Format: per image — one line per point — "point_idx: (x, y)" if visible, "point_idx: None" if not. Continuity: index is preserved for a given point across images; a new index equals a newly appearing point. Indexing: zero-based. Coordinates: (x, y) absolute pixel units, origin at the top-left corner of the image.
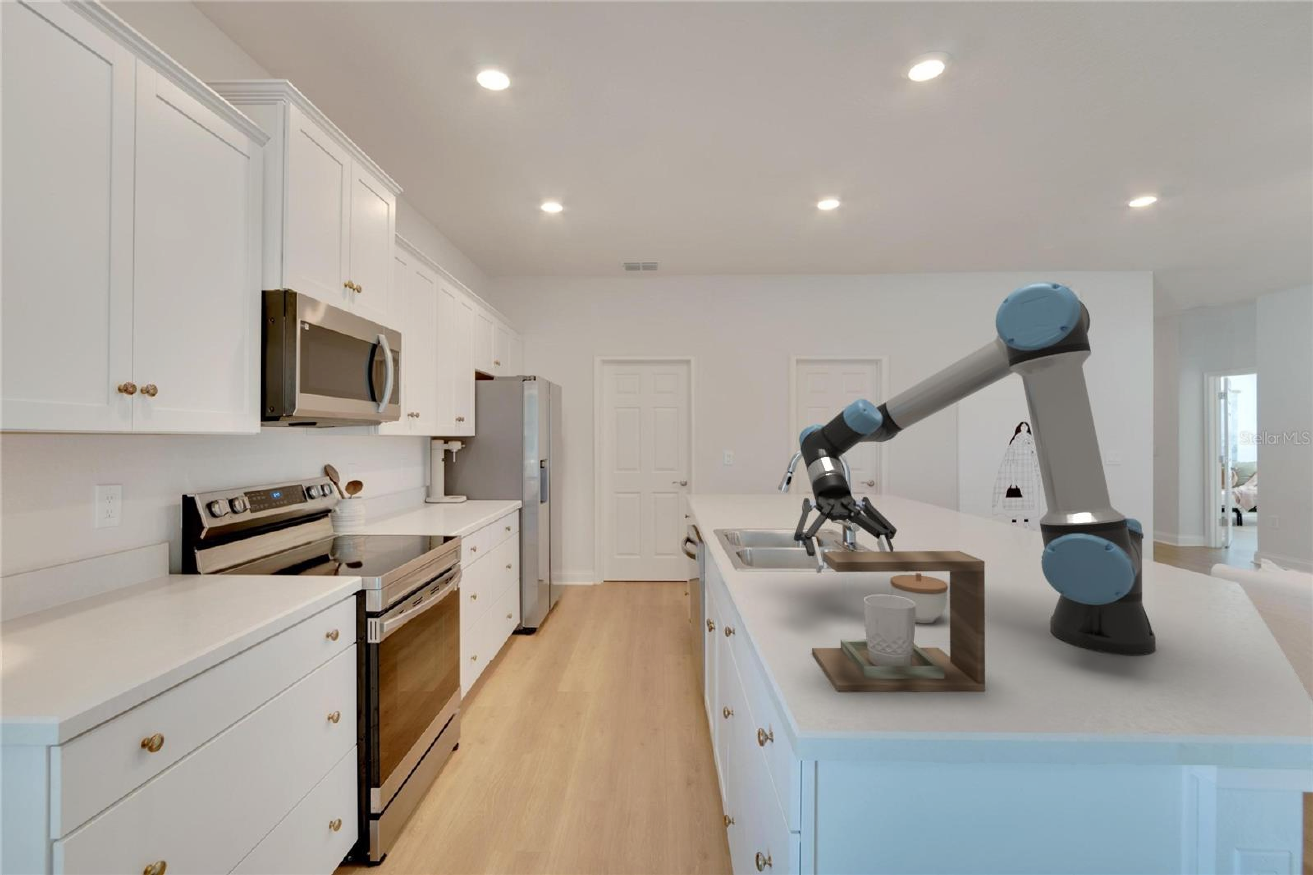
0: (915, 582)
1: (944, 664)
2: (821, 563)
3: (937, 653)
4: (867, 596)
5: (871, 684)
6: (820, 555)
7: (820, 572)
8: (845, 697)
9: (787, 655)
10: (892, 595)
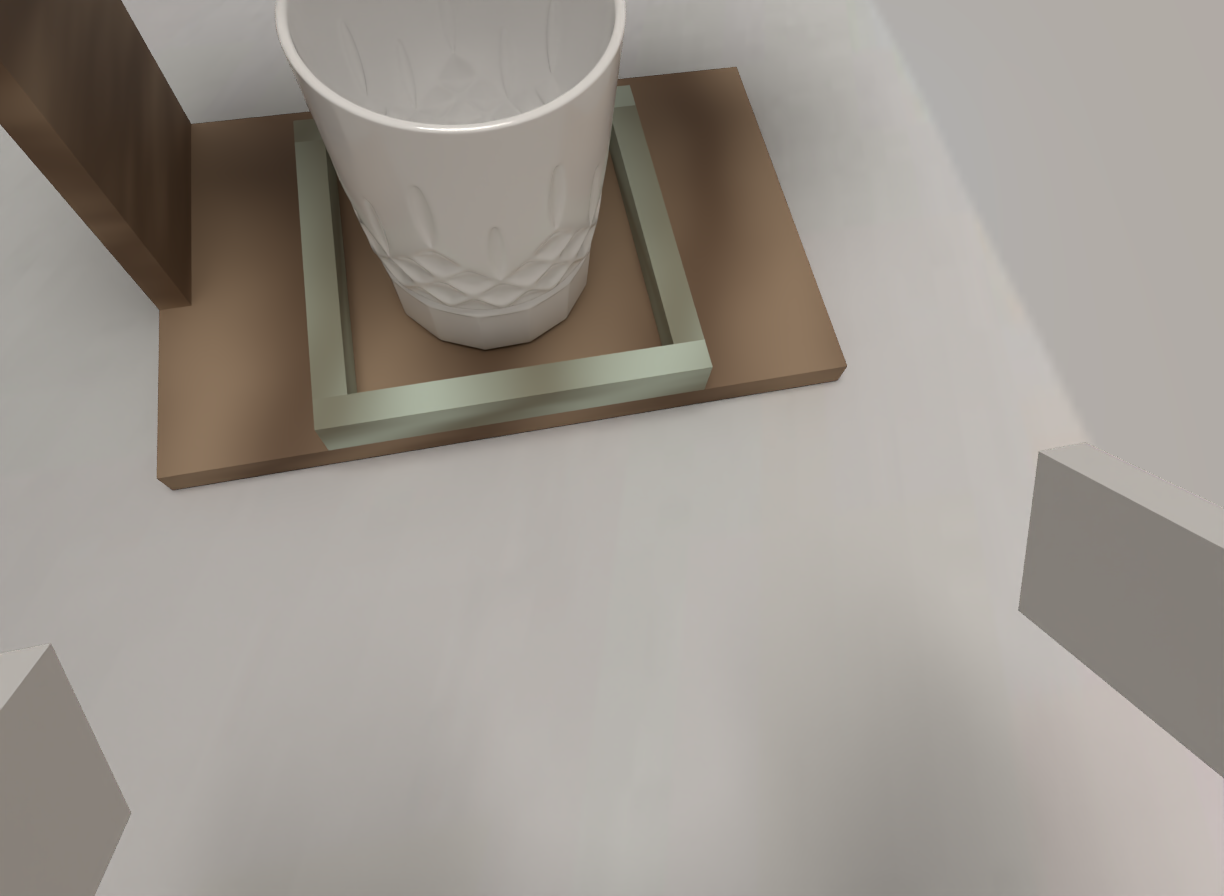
0: None
1: (236, 273)
2: (1077, 459)
3: (204, 394)
4: (587, 75)
5: None
6: (1175, 516)
7: (1022, 601)
8: (706, 59)
9: (948, 347)
10: (383, 117)
